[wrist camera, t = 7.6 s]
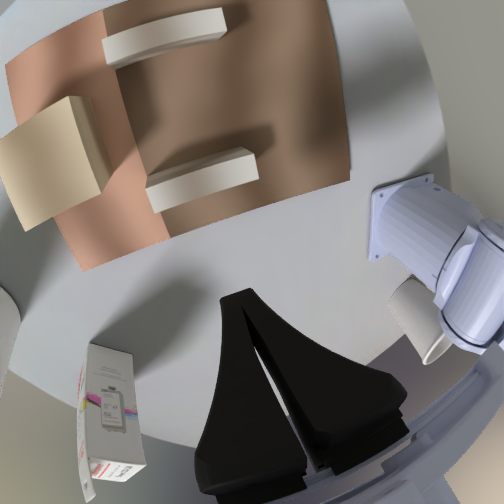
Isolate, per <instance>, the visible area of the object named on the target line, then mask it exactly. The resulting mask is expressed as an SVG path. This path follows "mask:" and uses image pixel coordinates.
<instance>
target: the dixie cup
mask: <svg viewBox="0 0 504 504" xmlns="http://www.w3.org/2000/svg"><path fill="white" fill-rule="evenodd" d="M435 296H436V294H435V293H433V292H432V291H431V290H429V289H428V288H426V287H425V286H424V285H422V284H420V283H419V282H417V281H416V280H414V279H410V280H407V281H406V282H404V283H403V284H402V285H401V286H399V288H398V289H397V290H396V291H395V292H394V294H393V295H392V297H391V299H390V301H389V305H388V308H389V310H390V311H391V313H392V314H393V316H394V317H395V318H396V320H397V321H398V323H399V324H400V326H401V327H402V329H403V330H404V332H405V333H406V335H407V336H408V338H409V339H410V341H411V342H412V344H413V345H414V347H415V348H416V350H417V352H418V353H419V355H420V356H421V358H422V359H423V364H425V365H426V364H430V363H431V362H433V361H435V360H436V359H437V358H438V357H440V356H441V355H442V354H443V353H444V352H445V351H446V350H447V349H448V348H449V347H450V346H451V344H452V343H453V342H452V341H451V340H450V339H449V338H448V337H447V336H446V334H445V333H444V331H443V329H442V327H441V325H440V322H439V319H438V311H439V307H438V306H437V305H436V304H435V303H434V302H433V300H434V298H435Z"/></svg>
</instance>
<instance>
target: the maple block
mask: <svg viewBox="0 0 504 504" xmlns="http://www.w3.org/2000/svg"><path fill="white" fill-rule="evenodd" d="M113 173H114V171H113V168H112V166H111V163H110V160H109V157H108V154H107V151H106V148H105V145H104V143H103V139H102V136H101V133H100V130H99V127H98V124H97V120H96V117H95V114H94V110H93V107H92V103H91V100H90V97H82V96H67V97H65V98H63V99H61V100H60V101H58V102H56V103H54V104H53V105H51V106H49V107H47V108H46V109H44V110H42V111H41V112H39V113H38V114H36V115H34V116H33V117H31V118H30V119H28V120H27V121H25V122H24V123H22V124H21V125H19V126H18V127H17V128H15V129H14V130H12V131H11V132H10V133H8V134H7V135H6V136H4V137H3V138H2V139H0V176H1V179H2V182H3V184H4V187H5V189H6V191H7V194H8V196H9V198H10V201H11V203H12V205H13V207H14V210H15V212H16V214H17V216H18V218H19V220H20V222H21V224H22V226H23V228H24V230H25V232H26V231H28V230H30V229H32V228H33V227H35V226H37V225H39V224H41V223H42V222H44V221H46V220H48V219H50V218H52V217H54V216H56V215H57V214H59V213H61V212H63V211H65V210H67V209H69V208H71V207H73V206H75V205H78V204H80V203H82V202H84V201H86V200H88V199H90V198H93V197H95V196H97V195H99V194H101V193H102V191H103V190H104V188H105V186H106V185H107V183H108V181H109V180H110V178H111V176H112V175H113Z"/></svg>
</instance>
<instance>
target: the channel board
mask: <svg viewBox="0 0 504 504" xmlns="http://www.w3.org/2000/svg"><path fill="white" fill-rule="evenodd" d="M5 69H6V75H7V81H8V86H9V91H10V96H11V101H12V105H13V109H14V113H15V117H16V121H17V124H18V126H19V125H21V124H22V123H24V122H25V121H27V120H28V119H30V118H31V117H33V116H34V115H36V114H38V113H39V112H41V111H42V110H44V109H46V108H47V107H49V106H51V105H53V104H54V103H56V102H58V101H60V100H61V99H63V98H65V97H67V96H82V97H90V100H91V103H92V107H93V110H94V114H95V117H96V120H97V124H98V127H99V130H100V133H101V136H102V139H103V143H104V145H105V148H106V151H107V154H108V157H109V160H110V163H111V166H112V168H113V171H114V173H113V175H112V176H111V178H110V180H109V181H108V183H107V185H106V186H105V188H104V190H103V191H102V193H101V194H99V195H97V196H95V197H93V198H90V199H88V200H86V201H84V202H82V203H80V204H78V205H75V206H73V207H71V208H69V209H67V210H65V211H63V212H61V213H59V214H57V215H56V216H54V217H53V218H54V220H55V222H56V224H57V226H58V228H59V230H60V232H61V233H62V235H63V237H64V239H65V241H66V243H67V245H68V246H69V248H70V250H71V252H72V253H73V255H74V257H75V259H76V260H77V262H78V264H79V265H80V267H81V269H82V270H83V272H84V271H87V270H89V269H92V268H94V267H96V266H99V265H101V264H104V263H106V262H109V261H111V260H114V259H116V258H119V257H122V256H124V255H127V254H129V253H132V252H134V251H137V250H140V249H142V248H145V247H148V246H150V245H153V244H156V243H158V242H161V241H164V240H166V239H169V238H172V237H175V236H177V235H180V234H183V233H186V232H189V231H191V230H194V229H197V228H200V227H203V226H206V225H209V224H211V223H214V222H217V221H220V220H223V219H226V218H229V217H232V216H235V215H238V214H241V213H244V212H247V211H250V210H253V209H256V208H259V207H262V206H266V205H269V204H272V203H275V202H278V201H281V200H285V199H288V198H291V197H294V196H298V195H301V194H304V193H308V192H311V191H314V190H318V189H321V188H324V187H328V186H331V185H335V184H338V183H342V182H345V181H349V180H350V169H349V151H348V138H347V126H346V116H345V107H344V99H343V91H342V84H341V77H340V71H339V64H338V59H337V53H336V48H335V43H334V38H333V33H332V28H331V24H330V19H329V15H328V11H327V7H326V3H325V0H128V1H125V2H122V3H119V4H116V5H114V6H111V7H108V8H106V9H103V10H101V11H98V12H96V13H94V14H91V15H89V16H87V17H84V18H82V19H80V20H78V21H76V22H74V23H72V24H70V25H68V26H66V27H64V28H62V29H60V30H58V31H56V32H55V33H53V34H51V35H49V36H48V37H46V38H44V39H43V40H41V41H39V42H38V43H36V44H34V45H33V46H31V47H30V48H28V49H27V50H25V51H24V52H22V53H21V54H19V55H18V56H17V57H15V58H14V59H12V60H11V61H10V62H8V63H7V64H6V65H5Z"/></svg>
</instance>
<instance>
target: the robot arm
mask: <svg viewBox="0 0 504 504" xmlns="http://www.w3.org/2000/svg"><path fill="white" fill-rule="evenodd" d="M380 194H381V195H380ZM388 254H390V255H391V256H393V257H394V258H395V259H396V260H397V261H399V262H400V263H401V264H402V265H403V266H404V267H406V268H407V269H408V270H409V271H410V272H411V273H413V274H414V275H415V276H416V277H417V278H418V279H419V280H420V281H422V282H423V283H424V284H425V285H426V286H427V287H428V288H429V289H430V290H432V291H433V292H434V293H435V294H436V296H435V298H434V300H433V302H434V303H435V304H436V305H437V306H438V307H439V311H438V319H439V322H440V325H441V327H442V329H443V331H444V333H445V334H446V336H447V337H448V338H449V339H450V340H451V341H452V342H453V343H454V344H455V345H457V346H458V347H460V348H462V349H464V350H467V351H471V352H474V353H477V354H479V355H481V356H480V357H479V359H478V360H477V361H476V362H475V364H474V366H473V367H472V368H471V369H470V370H469V371H468V372H467V373H466V374H465V375H464V376H463V377H462V378H461V379H460V380H459V381H457V382H456V383H455V384H454V385H453V386H452V387H451V388H450V389H449V390H448V391H446V392H445V393H444V394H443V395H442V396H441V397H439V398H438V399H437V400H436V401H435V402H433V403H432V404H431V405H430V406H428V407H427V408H426V409H425V410H423V411H422V412H421V413H419V414H418V415H417V416H415V417H414V418H413V419H411V420H410V421H408V422H407V423H406V424H405V423H404V422H403V420H402V419H401V417H402V416H403V415H402V413H401V411H400V410H399V407H400V406H401V404H402V403H403V402H404V400H405V399H406V397H407V391H406V390H405V389H404V387H403V386H402V385H401V384H400V383H399V382H398V381H397V380H396V379H395V378H394V377H393V376H392V375H391V374H389V373H386V372H383V371H379V370H376V369H373V368H370V367H367V366H364V365H362V364H359V363H357V362H354V361H352V360H349V359H347V358H345V357H343V356H341V355H339V354H337V353H334V352H332V351H330V350H328V349H327V348H325V347H323V346H321V345H319V344H318V343H316V342H314V341H313V340H311V339H310V338H308V337H306V336H305V335H303V334H302V333H301V332H299V331H298V330H296V329H295V328H294V327H292V326H291V325H290V324H288V323H287V322H286V321H285V320H283V319H282V318H281V317H280V316H279V315H278V314H276V313H275V312H274V311H273V310H272V309H271V308H270V307H269V306H268V305H267V304H266V303H264V302H263V300H262V299H261V298H260V297H259V296H258V295H257V294H256V293H255V292H254V290H253V289H251V288H248V289H245V290H242V291H239V292H236V293H233V294H231V295H228V296H225V297H222V298H221V299H220V300H219V301H220V305H221V313H222V344H221V356H220V365H219V372H218V378H217V383H216V388H215V392H214V397H213V401H212V405H211V408H210V412H209V415H208V418H207V422H206V425H205V428H204V431H203V433H202V436H201V439H200V441H199V444H198V446H197V449H196V451H195V464H194V465H195V475H196V480H197V483H198V486H199V489H200V492H202V493H204V494H208V495H215V496H216V499H217V502H218V504H280V503H283V502H286V501H288V500H291V499H294V498H297V497H300V496H302V495H305V494H307V493H310V492H312V491H315V490H317V489H319V488H322V487H324V486H327V485H329V484H331V483H333V482H335V481H337V480H340V479H342V478H344V477H346V476H348V475H350V474H352V473H353V472H355V471H357V470H359V469H361V468H363V467H364V466H366V465H368V464H370V463H372V462H373V461H375V460H376V459H378V458H380V457H382V456H383V455H385V454H386V453H388V452H390V451H391V450H393V449H394V448H396V447H397V446H399V445H400V444H402V443H403V442H405V441H406V440H407V439H409V438H410V437H412V438H411V443H410V444H409V445H408V446H407V447H405V448H404V449H402V450H401V451H399V452H398V453H396V454H395V455H393V456H392V457H390V458H389V459H387V460H385V461H384V462H382V463H381V467H382V468H383V470H384V472H383V473H381V474H379V475H378V476H376V477H374V478H372V479H370V480H369V481H367V482H365V483H363V484H361V485H359V486H357V487H355V488H353V489H351V490H349V491H347V492H345V493H343V494H341V495H339V496H337V497H334V498H332V499H330V500H328V501H325V502H323V503H321V504H460V502H459V501H458V499H457V497H456V496H455V494H454V492H453V491H452V489H451V488H450V486H449V484H448V483H447V481H446V480H445V478H444V476H443V475H444V474H445V473H446V472H447V471H448V470H449V469H450V468H451V467H452V466H453V465H454V464H455V463H456V462H457V461H458V460H459V459H460V458H461V457H462V455H463V454H464V453H465V452H466V451H467V450H468V449H469V448H470V446H471V445H472V444H473V443H474V442H475V440H476V439H477V438H478V437H479V435H480V434H481V433H482V431H483V430H484V429H485V428H486V426H487V425H488V424H489V422H490V421H491V420H492V418H493V417H494V415H495V414H496V413H497V411H498V410H499V408H500V407H501V405H502V404H503V402H504V222H502V221H500V220H498V219H495V218H493V217H487V218H485V219H483V217H482V215H481V213H480V212H479V211H478V209H477V208H476V207H475V206H474V205H473V204H472V203H470V202H468V201H466V200H464V199H463V198H461V197H459V196H458V195H456V194H454V193H452V192H450V191H448V190H446V189H445V188H443V187H441V186H439V185H437V184H435V183H434V175H433V174H431V173H430V174H426V175H423V176H419V177H416V178H413V179H409V180H406V181H403V182H400V183H396V184H393V185H390V186H386V187H383V188H380V189H377V190H375V191H373V193H372V201H371V227H370V242H369V255H368V259H369V260H370V261H371V262H373V261H375V260H377V259H379V258H381V257H383V256H386V255H388ZM254 347H255V348H256V350H257V352H258V354H259V356H260V358H261V360H262V361H263V363H264V365H265V367H266V369H267V370H268V372H269V374H270V376H271V377H272V379H273V381H274V383H275V385H276V387H277V389H278V390H279V392H280V395H281V397H282V399H283V401H284V404H285V406H286V408H287V410H288V413H289V415H290V417H291V419H292V421H293V424H294V426H295V428H296V430H297V432H298V435H299V437H300V439H301V441H302V444H303V446H304V448H305V450H306V452H307V455H308V457H309V459H310V461H311V464H312V466H313V468H314V470H315V472H316V474H314V475H311V476H309V477H306V478H304V479H303V478H302V476H305V475H307V474H306V468H307V456H306V454H305V453H304V450H303V448H302V446H301V444H300V442H299V440H298V438H297V436H296V434H295V433H294V431H293V429H292V427H291V425H290V423H289V421H288V419H287V417H286V415H285V413H284V411H283V409H282V407H281V405H280V403H279V401H278V399H277V397H276V395H275V393H274V391H273V389H272V387H271V385H270V383H269V381H268V378H267V376H266V374H265V372H264V370H263V368H262V366H261V363H260V361H259V359H258V357H257V354H256V352H255V348H254Z"/></svg>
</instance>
